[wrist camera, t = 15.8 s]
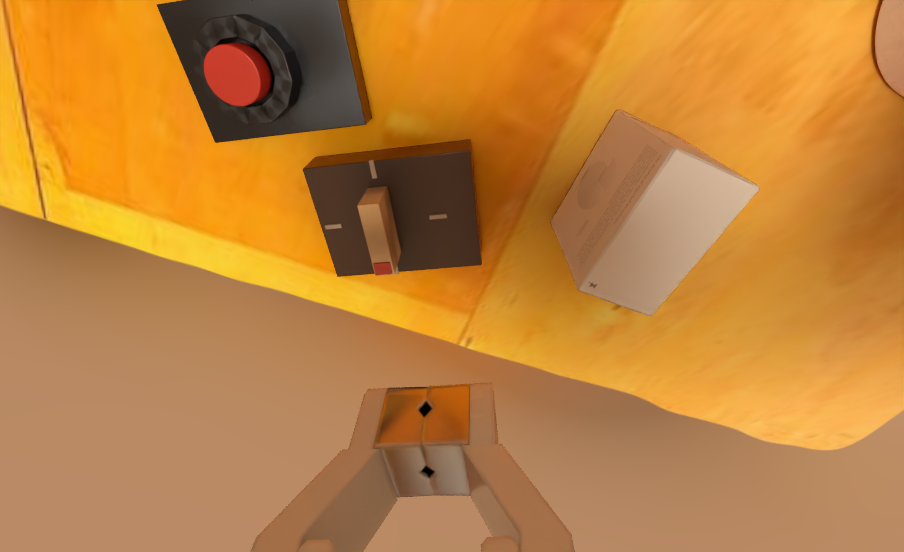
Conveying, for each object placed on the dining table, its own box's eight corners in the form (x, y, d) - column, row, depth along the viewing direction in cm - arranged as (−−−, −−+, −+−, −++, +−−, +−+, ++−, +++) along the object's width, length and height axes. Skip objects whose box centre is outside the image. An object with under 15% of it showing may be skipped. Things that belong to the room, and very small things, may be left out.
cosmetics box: (611, 247, 38) (653, 321, 29) (548, 222, 37) (572, 290, 28) (688, 139, 32) (767, 189, 24) (617, 106, 31) (672, 146, 23)
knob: (367, 187, 33) (355, 206, 29) (387, 185, 32) (378, 204, 29) (383, 253, 36) (374, 277, 33) (401, 252, 36) (394, 276, 33)
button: (260, 38, 27) (247, 40, 25) (279, 98, 29) (268, 103, 27) (208, 46, 27) (192, 48, 26) (230, 104, 29) (217, 109, 28)
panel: (470, 138, 33) (470, 149, 31) (481, 249, 39) (481, 267, 36) (314, 155, 35) (300, 168, 32) (346, 260, 40) (337, 279, 37)
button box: (341, -22, 28) (323, -26, 24) (372, 117, 33) (360, 130, 29) (176, 4, 29) (137, 4, 26) (229, 135, 34) (202, 149, 31)
